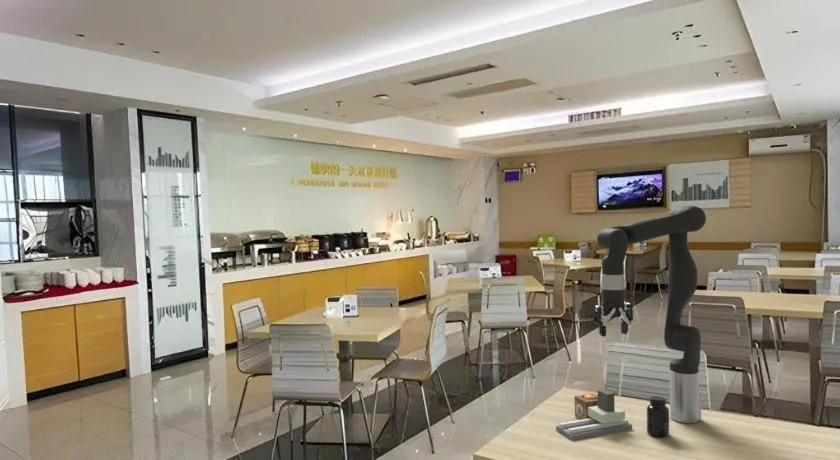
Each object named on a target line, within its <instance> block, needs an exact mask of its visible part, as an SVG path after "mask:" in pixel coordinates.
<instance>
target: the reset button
mask: <svg viewBox="0 0 840 460" xmlns="http://www.w3.org/2000/svg"><path fill="white" fill-rule="evenodd" d="M587 394H588V395H585V394H583V395H584V398H585V399H586V400H595V396H594V395H589V394H590V393H587Z"/></svg>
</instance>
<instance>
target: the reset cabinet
mask: <svg viewBox="0 0 840 460" xmlns="http://www.w3.org/2000/svg"><path fill="white" fill-rule="evenodd" d="M588 394H589V395H594V396H595V400H586V399H585V398H584V395H588ZM592 406H598V394H595V393H594V392H593V393H585V394H579V395H574V417H575V418H576V419H578V420H583V419H589V418H591V417H589V416H588V407H592Z"/></svg>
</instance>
